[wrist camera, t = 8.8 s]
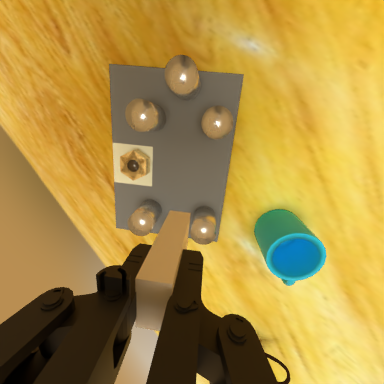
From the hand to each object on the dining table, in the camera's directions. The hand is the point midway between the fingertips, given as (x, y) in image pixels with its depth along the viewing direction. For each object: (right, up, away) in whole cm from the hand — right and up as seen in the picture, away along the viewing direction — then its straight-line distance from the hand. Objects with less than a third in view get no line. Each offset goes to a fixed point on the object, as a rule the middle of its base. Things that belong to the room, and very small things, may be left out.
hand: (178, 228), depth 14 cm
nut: (-8, +8, +19) cm, 22 cm away
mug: (+17, -6, +22) cm, 28 cm away
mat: (-3, +8, +19) cm, 21 cm away
